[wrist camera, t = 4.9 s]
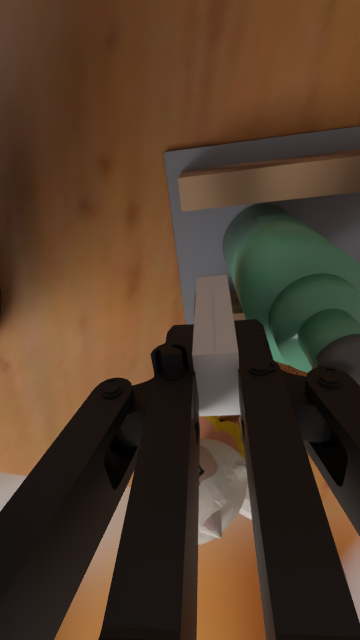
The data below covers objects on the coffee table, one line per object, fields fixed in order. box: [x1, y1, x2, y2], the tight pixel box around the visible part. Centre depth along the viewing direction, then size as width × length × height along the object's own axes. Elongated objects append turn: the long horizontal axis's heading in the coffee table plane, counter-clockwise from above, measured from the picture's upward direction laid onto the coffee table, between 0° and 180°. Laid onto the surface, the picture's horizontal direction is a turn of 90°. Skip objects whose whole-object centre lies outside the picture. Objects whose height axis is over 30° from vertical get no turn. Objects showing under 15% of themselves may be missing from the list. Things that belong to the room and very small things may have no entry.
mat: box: [164, 126, 360, 325], centre depth 23 cm, size 22×13×1 cm, turn 97°
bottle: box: [222, 204, 360, 385], centre depth 17 cm, size 5×5×15 cm
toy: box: [198, 415, 348, 584], centre depth 27 cm, size 9×19×15 cm, turn 50°
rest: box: [178, 149, 360, 321], centre depth 21 cm, size 20×11×4 cm, turn 97°
